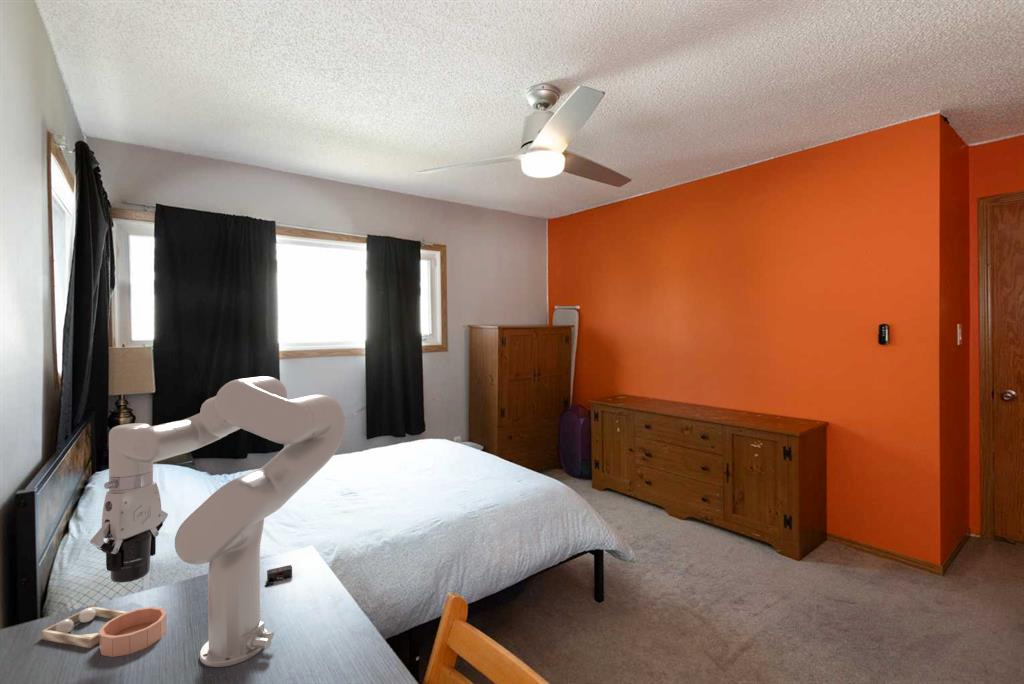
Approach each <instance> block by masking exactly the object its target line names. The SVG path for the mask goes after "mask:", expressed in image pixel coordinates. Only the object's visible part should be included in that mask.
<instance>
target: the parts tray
mask: <svg viewBox="0 0 1024 684" xmlns="http://www.w3.org/2000/svg"><path fill="white" fill-rule="evenodd" d="M87 608H93V609H94V610H95V611H96V614H95V617H99V618H107V619H111V620H112V619H114V618H115V617H117V616H119V615H121V614H124V613H127V612H128V611H125V610H118V609H110V608H104V607H97V606H93V605H92V606H88V607H87ZM83 610H84V609H83ZM83 610H80V611H79V612H76V613H74V614H73V615H71V616H68V617H66V618H65V619H71V620H72V621H73V622H74V624H76V623H78V622H80V621H79V614H80V613H81V612H82V611H83ZM65 619H64V618H63V620H65ZM59 622H60V621H59ZM59 622H56V623H55V624H52V625H50V626H48V627H46V628H44V629H43V630H41V631H40V633H41V635H40V636H41V640H44V641H50V642H55V643H60V644H66V645H71V646H76V647H81V648H86V649H92V648H94V647H95V646H97V645H99V632H96V633H83V634H73V633H69V632H68V633H63V632H57V631H55V628H56V626H57V624H58V623H59Z"/></svg>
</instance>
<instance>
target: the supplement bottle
mask: <svg viewBox="0 0 1024 684" xmlns="http://www.w3.org/2000/svg"><path fill="white" fill-rule="evenodd" d="M114 542H115V540H114ZM114 542H113V544H112V546H113V545H114ZM118 552H121V563H122V569H121V570H120V571H118V572H115V571H110V575H109V577H110V580H111V581H112V582H114V583H118V584H119V583H130V582H133V581H134V582H135V581H136V580H140V579H141V578H144V577H145V576H147V575H148V574H149V573H150V570H151V557H152V556H151V533H150V532H149V531H145V532H143V533H140V534H138V535H135V536H133V537H130V538H127V539H124V540H123V541H122V543H121V546H120V548H119V550H118Z"/></svg>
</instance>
